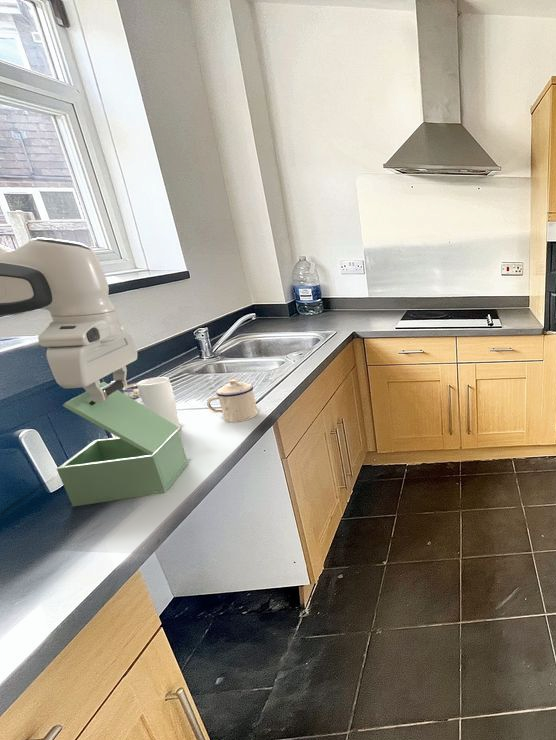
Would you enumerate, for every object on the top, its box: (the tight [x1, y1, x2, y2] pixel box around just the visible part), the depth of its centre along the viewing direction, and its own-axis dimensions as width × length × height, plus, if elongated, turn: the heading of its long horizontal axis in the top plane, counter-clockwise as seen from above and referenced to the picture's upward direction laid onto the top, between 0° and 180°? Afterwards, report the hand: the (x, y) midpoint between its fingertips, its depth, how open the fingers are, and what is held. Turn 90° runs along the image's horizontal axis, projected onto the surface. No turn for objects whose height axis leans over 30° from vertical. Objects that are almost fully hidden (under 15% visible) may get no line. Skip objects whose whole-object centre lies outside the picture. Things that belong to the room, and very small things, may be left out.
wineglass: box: [122, 382, 144, 406], centre depth 117 cm, size 7×7×12 cm
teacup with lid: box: [206, 378, 259, 423], centre depth 122 cm, size 12×9×12 cm
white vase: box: [136, 376, 181, 431], centre depth 112 cm, size 7×7×15 cm
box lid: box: [62, 380, 179, 455], centre depth 87 cm, size 16×13×5 cm
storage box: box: [56, 430, 189, 507], centre depth 90 cm, size 16×13×9 cm
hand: (111, 394), depth 84 cm, fingers closed on box lid, 6 cm apart
